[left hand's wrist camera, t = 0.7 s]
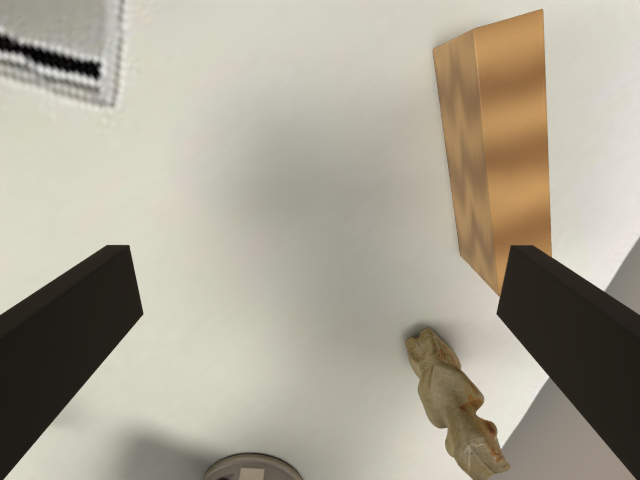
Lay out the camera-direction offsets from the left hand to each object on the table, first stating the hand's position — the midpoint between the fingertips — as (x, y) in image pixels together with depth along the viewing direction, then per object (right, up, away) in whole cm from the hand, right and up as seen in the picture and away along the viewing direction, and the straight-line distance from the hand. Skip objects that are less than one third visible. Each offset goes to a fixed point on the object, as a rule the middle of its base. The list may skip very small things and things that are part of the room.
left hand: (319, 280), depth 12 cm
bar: (+15, +10, +23) cm, 29 cm away
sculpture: (+13, -12, +31) cm, 36 cm away
